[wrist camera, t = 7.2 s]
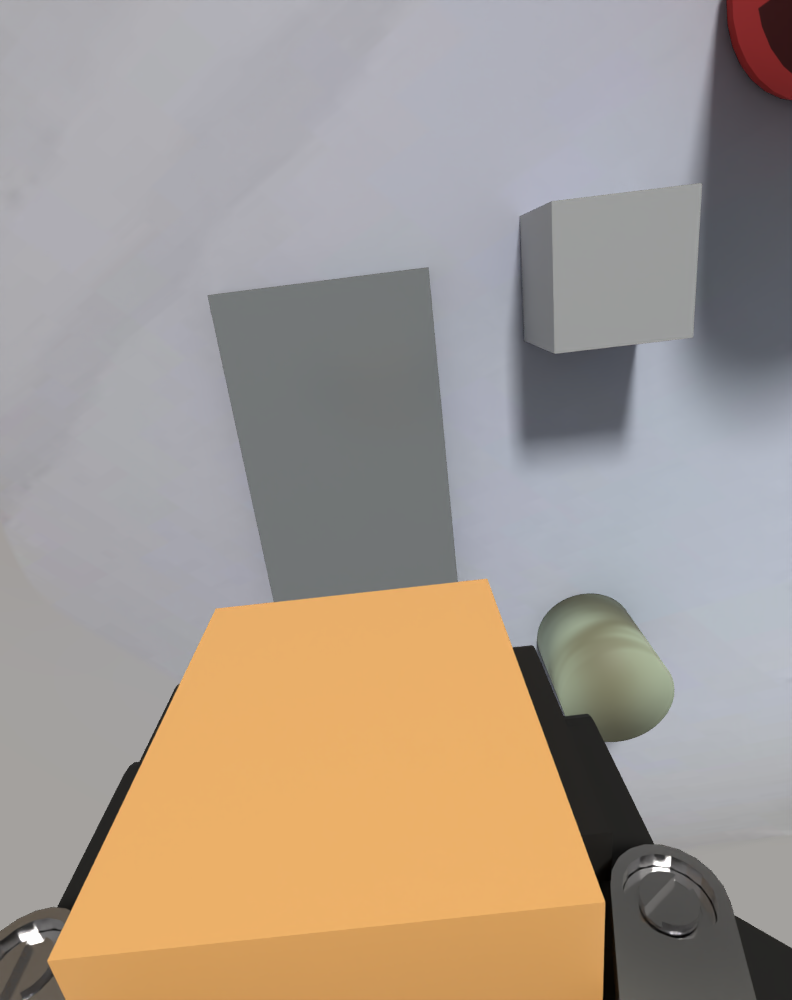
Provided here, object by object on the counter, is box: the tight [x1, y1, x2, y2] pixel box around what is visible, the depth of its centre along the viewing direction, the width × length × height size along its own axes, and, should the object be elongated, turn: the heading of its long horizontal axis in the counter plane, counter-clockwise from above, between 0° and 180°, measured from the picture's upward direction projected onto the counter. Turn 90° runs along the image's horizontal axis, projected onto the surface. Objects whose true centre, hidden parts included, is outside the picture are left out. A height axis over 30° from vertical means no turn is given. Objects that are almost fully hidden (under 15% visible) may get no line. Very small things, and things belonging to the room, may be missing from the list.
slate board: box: [208, 267, 458, 602], centre depth 27 cm, size 9×16×1 cm, turn 7°
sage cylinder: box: [537, 594, 674, 742], centre depth 29 cm, size 5×5×5 cm
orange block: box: [47, 579, 605, 1000], centre depth 9 cm, size 5×5×6 cm
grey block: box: [520, 183, 702, 354], centre depth 23 cm, size 5×5×5 cm
